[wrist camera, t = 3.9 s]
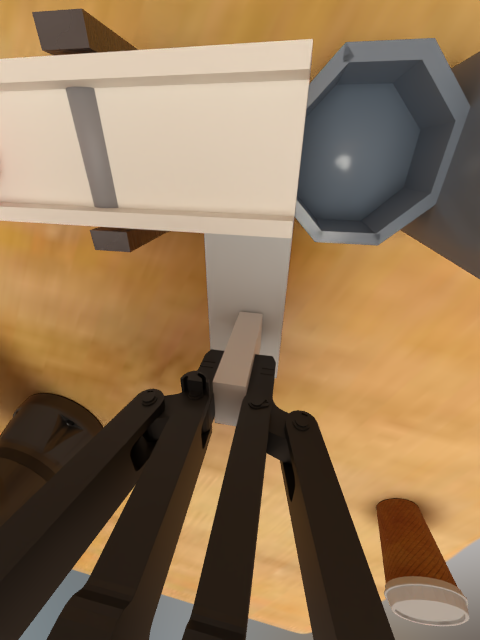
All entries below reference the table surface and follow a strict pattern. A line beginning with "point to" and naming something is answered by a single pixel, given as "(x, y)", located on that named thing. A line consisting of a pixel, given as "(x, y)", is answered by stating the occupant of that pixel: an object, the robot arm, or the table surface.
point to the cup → (394, 149)
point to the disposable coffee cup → (416, 568)
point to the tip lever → (168, 157)
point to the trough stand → (80, 38)
